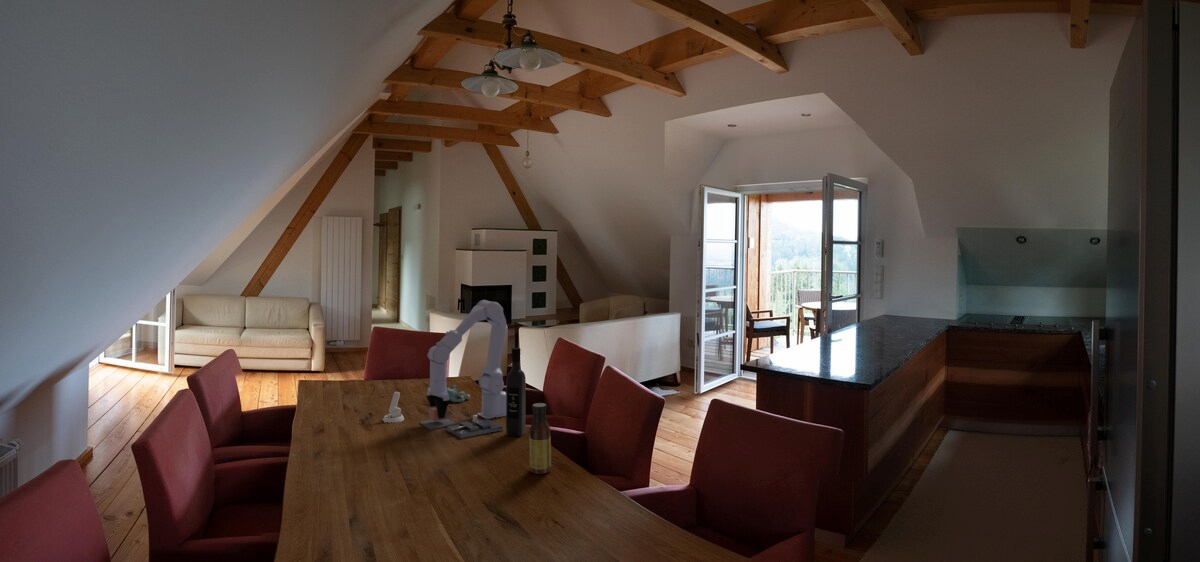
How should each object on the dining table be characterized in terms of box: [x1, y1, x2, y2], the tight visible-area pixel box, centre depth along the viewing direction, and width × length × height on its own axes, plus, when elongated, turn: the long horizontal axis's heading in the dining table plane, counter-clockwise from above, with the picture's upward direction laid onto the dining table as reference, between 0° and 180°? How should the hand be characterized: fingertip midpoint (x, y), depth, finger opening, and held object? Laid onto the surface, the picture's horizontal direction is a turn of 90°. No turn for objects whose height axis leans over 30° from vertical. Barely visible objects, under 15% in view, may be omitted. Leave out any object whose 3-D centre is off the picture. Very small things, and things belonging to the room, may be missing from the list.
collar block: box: [428, 406, 449, 421], centre depth 233 cm, size 5×5×4 cm
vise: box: [446, 414, 504, 440], centre depth 226 cm, size 17×11×6 cm, turn 128°
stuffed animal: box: [446, 384, 471, 403], centre depth 268 cm, size 11×7×12 cm
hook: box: [382, 391, 405, 424], centre depth 241 cm, size 8×12×7 cm
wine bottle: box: [505, 347, 526, 438], centre depth 222 cm, size 6×6×30 cm
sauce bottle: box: [528, 402, 552, 475], centre depth 187 cm, size 7×6×20 cm
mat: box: [419, 418, 458, 431], centre depth 234 cm, size 10×10×1 cm
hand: (438, 416), depth 234 cm, fingers closed on collar block, 5 cm apart
